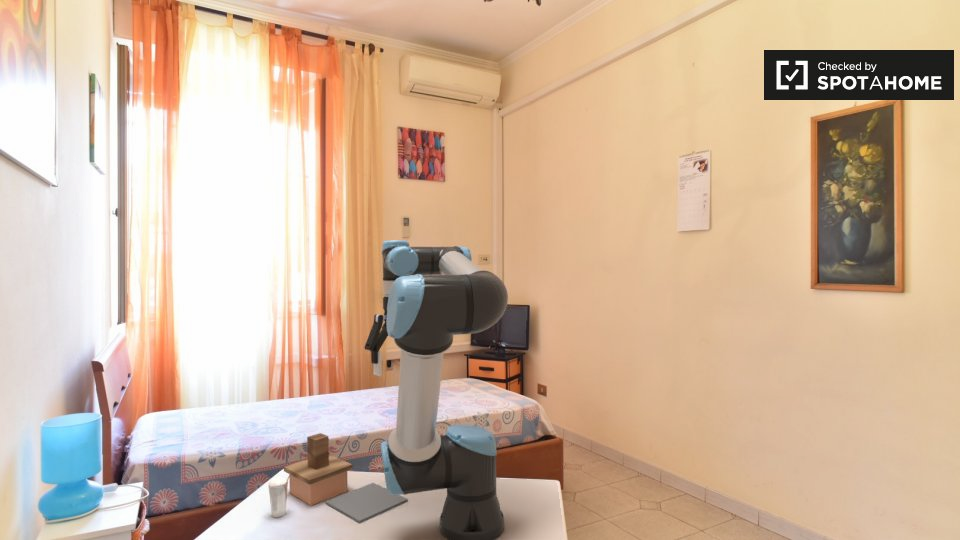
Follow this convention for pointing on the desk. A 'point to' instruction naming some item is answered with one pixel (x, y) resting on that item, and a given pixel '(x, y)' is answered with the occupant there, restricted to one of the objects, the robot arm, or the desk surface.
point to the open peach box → (318, 488)
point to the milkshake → (278, 495)
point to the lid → (317, 462)
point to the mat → (365, 502)
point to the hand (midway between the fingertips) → (397, 371)
